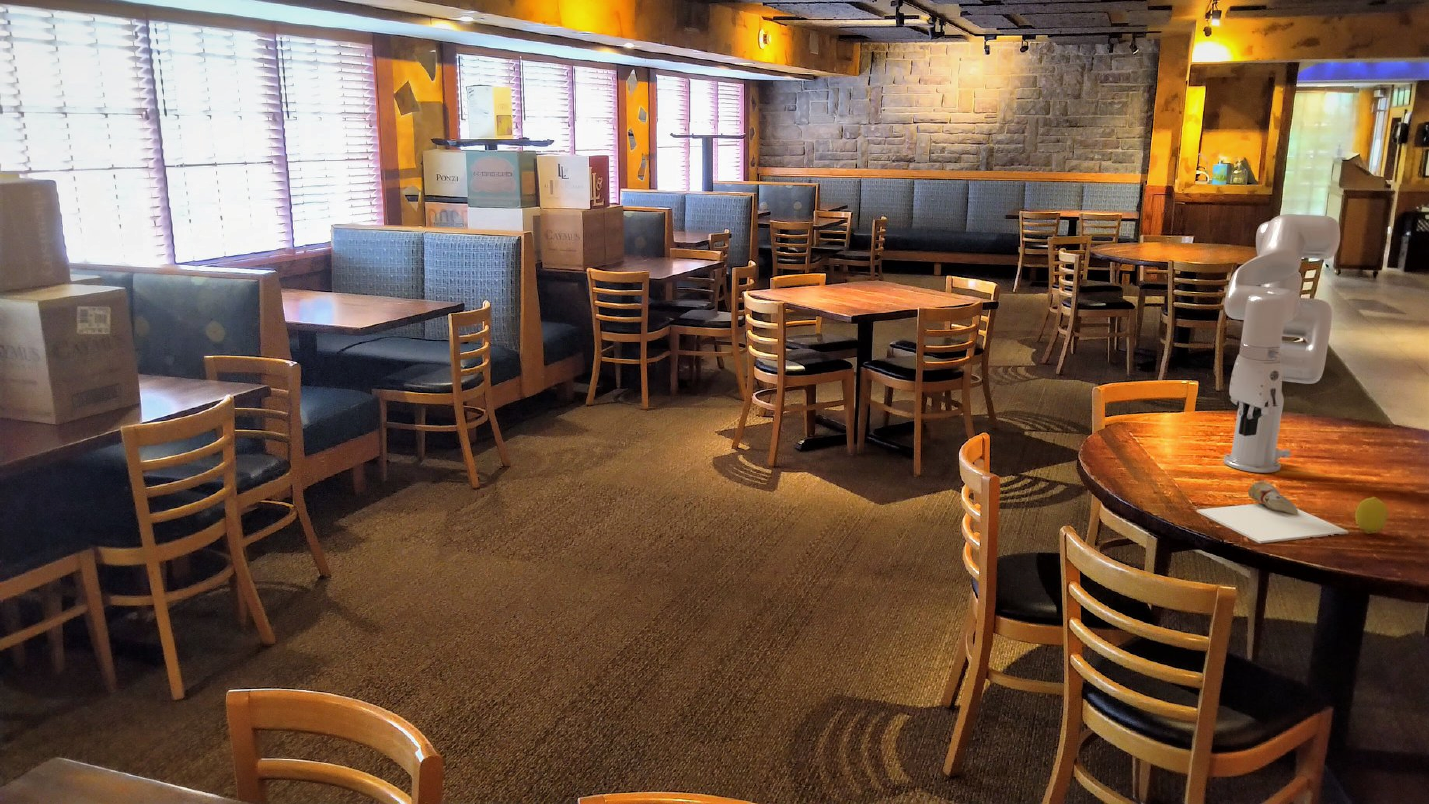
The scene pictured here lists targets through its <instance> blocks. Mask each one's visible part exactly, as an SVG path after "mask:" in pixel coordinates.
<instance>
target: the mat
mask: <svg viewBox="0 0 1429 804" xmlns="http://www.w3.org/2000/svg"><path fill="white" fill-rule="evenodd" d="M1297 510H1298V513H1297V514H1290V513H1287V512H1284V511H1281V510H1274V509H1271V508H1269V507H1266V506H1264V504H1262V503H1259V502H1258V503H1252V504H1241V505H1231V506H1222V507H1212V508H1211V507H1210V508H1203V509H1202V508H1201V509H1196V513H1198V514H1200V515H1202V516H1205V517H1206V518H1208V519H1210V520H1212V521H1214V522H1216V523H1218V524H1220V525H1221V526H1224V527H1225V528H1228V529H1230V530H1232V531H1234V532H1236V533H1238V534H1240V535H1242V536H1244V537H1247V538H1248V539H1250V540H1252V541H1253V542H1256V543H1258V544H1266V543H1274V542H1275V543H1276V542H1284V541H1286V542H1287V541H1292V540H1302V539H1310V537H1313V538H1319V537H1329V536H1328V535H1331V536H1335V535H1334V534H1339V535H1347V534H1349V530H1347V529H1344V528H1342V527H1340V526H1337V525H1335V524H1333V523H1331V522H1329V521H1327V520H1324V519H1322V518H1319V517H1317V516H1315V515H1312V514H1310V513H1308V512H1305V511H1304V510H1302V509H1299V508H1297Z"/></svg>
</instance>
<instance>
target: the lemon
mask: <svg viewBox="0 0 1429 804" xmlns="http://www.w3.org/2000/svg"><path fill="white" fill-rule="evenodd" d="M1388 514H1389V513H1388V508H1387V505H1386V504H1385V503H1384V502H1383V501H1382V500H1381V499H1379V498H1377V497H1376V496H1372V497H1368V498H1365V499H1363V500H1362V501H1360V502H1359V504H1358V505H1357V507H1356V509H1355V513H1354V517H1355V522H1356V525H1357V526H1358V527H1359V529H1361V530H1363V531H1364V533H1365V534H1368V535H1369V534H1372V533H1374V532H1378V531H1380V530H1381V529H1383V528H1384V527H1385V525H1386V523H1387V520H1388Z"/></svg>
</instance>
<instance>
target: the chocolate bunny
mask: <svg viewBox="0 0 1429 804" xmlns="http://www.w3.org/2000/svg"><path fill="white" fill-rule="evenodd" d="M1247 492H1248V497H1249V498H1250V499H1252V500H1254V501H1256V502H1258V504H1259V503H1262V504H1264V506H1266V507H1269V508H1271V509H1274V510H1281V511H1284V512H1287V513H1290V514H1297V513H1298V510H1297V509H1298V508H1297V506H1296V505H1295V504H1294V503H1293V502H1291V501H1290V499H1288V498H1287V497H1285V496H1284V495H1281V494H1280V492H1279V491H1278V489H1277V488H1276V487H1275V486H1274V485H1273V484H1271V483H1269V482H1267V481H1264V480H1259V481H1257V482H1255V483H1254V484H1252V485H1251V487H1250V488H1249V489H1248V491H1247Z"/></svg>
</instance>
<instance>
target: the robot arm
mask: <svg viewBox="0 0 1429 804" xmlns="http://www.w3.org/2000/svg"><path fill="white" fill-rule="evenodd" d="M1340 242H1341V229H1340V224H1339V223H1338V221H1337V219H1335V218H1333V217H1332V216H1327V215H1316V214H1298V213H1297V214H1296V213H1295V214H1293V213H1292V214H1291V213H1290V214H1286V213H1285V214H1280V215H1277V216H1274V218H1272V219H1271V220H1270V221H1269V220H1268V221H1265V222H1263V223H1261V224H1260V225H1259V226H1258V228H1257V231H1256V236H1255V248H1256V255H1257V256H1255V257H1253V258H1252V259H1249V260H1248V261H1246V262H1245V263H1243V264H1242V265H1240V266H1239V267H1238V268H1237V269H1236V270H1234V271H1235V272H1234V273H1233V274H1232V276H1231V278H1230V280H1229V282H1228V283H1229V284H1228V287H1227V290H1226V293H1225V297H1224V303H1223V307H1224V312H1225V314H1226V315H1227V316H1228V317H1229V318H1230V319H1233V320H1239V321H1240V320H1241V321H1243V326H1242V331H1241V339H1240V345H1239V354H1237V357H1236V359H1235V361H1234V365H1233V369H1232V372H1231V378H1230V383H1229V392H1228V393H1229V396H1230V401H1231V402H1232V403H1233V404H1234V405H1236V407H1237V415H1236V420H1235V427H1234V435H1233V442H1232V447H1231V453H1228V454H1224V456H1223V463H1224V464H1225V465H1227V466H1229V467H1231V468H1232V469H1233V468H1234V469H1237V470H1241V471H1245V472H1249V473H1250V472H1251V473H1259V474H1261V473H1262V474H1268V473H1275V472H1276V473H1277V472H1279V471H1280V470H1281V466H1282V465H1281V462H1279V461H1278V460H1280V459H1281V458H1289V457H1291V455H1292V454H1291V453H1292V452H1291V450H1290V449H1289V448H1288V449H1279V448H1277V445H1278V439H1279V438H1278V437H1279V434H1280V433H1279V432H1280V427H1281V426H1280V425H1281V420H1282V419H1281V418H1282V414H1283V413H1282V412H1283V409H1284V401H1285V400H1284V395H1283V392H1282V385H1283V382H1288V383H1289V382H1290V383H1299V384H1307V385H1308V384H1312V385H1313V384H1316V383H1318V382H1319V381H1320V379H1322V376H1323V373H1324V371H1325V366H1326V360H1327V354H1328V347H1329V346H1328V345H1329V340H1330V334H1331V329H1332V328H1331V327H1332V320H1333V318H1332V317H1333V312H1332V307H1331V305H1330V304H1329V302H1327V301H1326V300H1323V299H1318V298H1311V297H1309V298H1308V297H1301V296H1300V293H1301V288H1302V282H1303V278H1302V274H1301V273H1300V272H1299V270H1300V268H1301V265H1302V259H1314V260H1315V259H1316V260H1329V259H1331V258H1333V257H1334V256H1335V255H1336V253H1337V251H1338V249H1339V246H1340ZM1283 337H1288V338H1298V339H1299V338H1300V339H1303V340H1304V341H1305V342H1300V341H1299V342H1298V341H1290V340H1283Z"/></svg>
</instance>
